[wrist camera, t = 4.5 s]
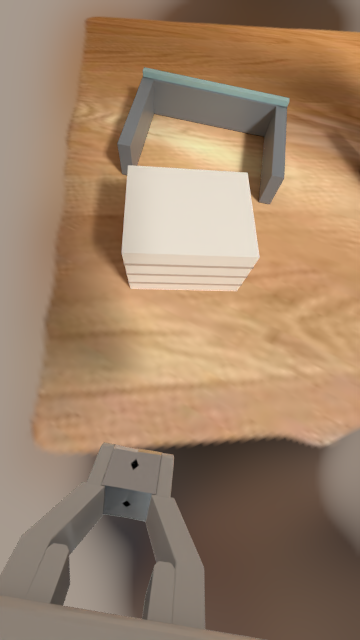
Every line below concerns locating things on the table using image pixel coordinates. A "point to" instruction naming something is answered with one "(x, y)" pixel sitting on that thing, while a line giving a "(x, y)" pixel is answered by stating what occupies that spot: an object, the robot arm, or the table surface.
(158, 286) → the tile stack
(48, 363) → the table surface
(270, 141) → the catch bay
